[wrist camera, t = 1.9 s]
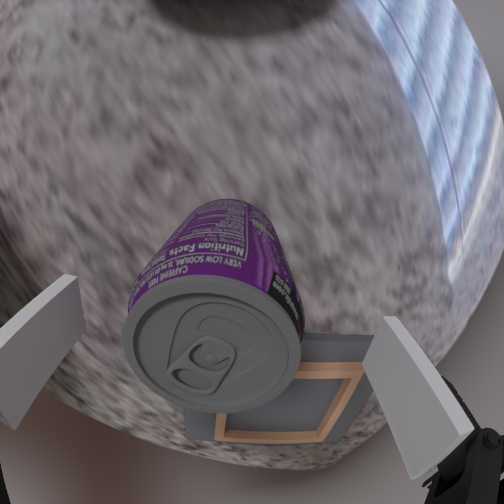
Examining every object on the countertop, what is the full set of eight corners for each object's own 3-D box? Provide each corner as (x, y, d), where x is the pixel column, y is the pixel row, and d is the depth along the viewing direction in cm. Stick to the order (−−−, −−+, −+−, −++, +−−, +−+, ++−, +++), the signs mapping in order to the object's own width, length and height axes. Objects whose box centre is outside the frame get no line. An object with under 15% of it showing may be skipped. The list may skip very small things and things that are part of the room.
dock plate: (186, 431, 28) (184, 445, 26) (184, 320, 22) (178, 336, 20) (337, 435, 29) (341, 448, 27) (395, 335, 23) (404, 348, 21)
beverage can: (241, 305, 21) (240, 436, 10) (163, 258, 20) (91, 366, 9) (296, 233, 20) (357, 335, 8) (213, 177, 18) (161, 214, 7)
